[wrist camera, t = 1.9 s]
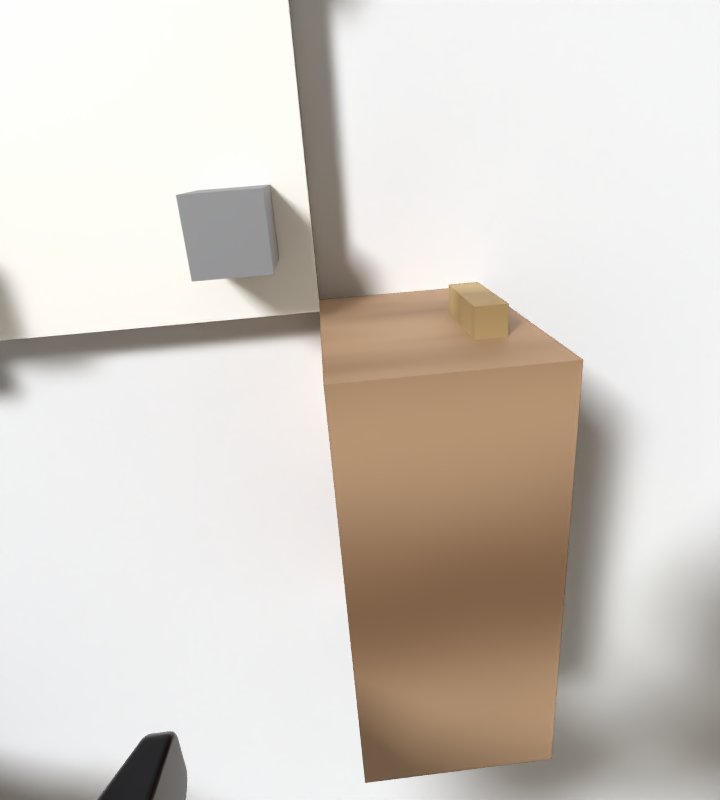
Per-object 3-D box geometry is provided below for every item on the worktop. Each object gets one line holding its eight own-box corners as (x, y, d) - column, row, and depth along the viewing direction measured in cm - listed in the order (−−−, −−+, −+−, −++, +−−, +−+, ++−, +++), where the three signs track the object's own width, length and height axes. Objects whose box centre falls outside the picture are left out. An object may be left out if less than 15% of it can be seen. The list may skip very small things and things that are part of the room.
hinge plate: (319, 300, 14) (321, 336, 11) (-103, 337, 14) (-217, 385, 11) (254, -335, 10) (230, -549, 7) (-359, -310, 9) (-666, -529, 6)
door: (476, 574, 18) (551, 759, 12) (348, 588, 18) (365, 782, 12) (478, 260, 14) (586, 321, 9) (316, 274, 14) (319, 346, 8)
